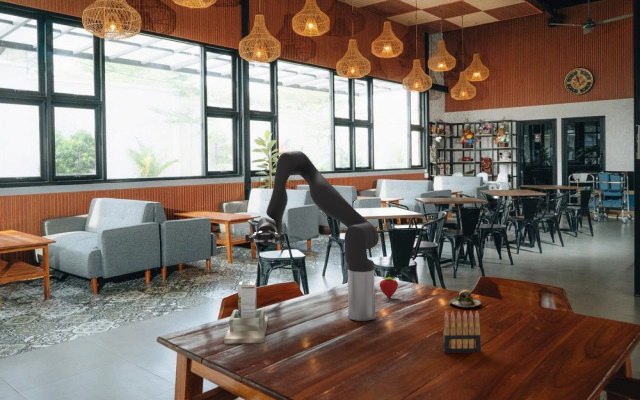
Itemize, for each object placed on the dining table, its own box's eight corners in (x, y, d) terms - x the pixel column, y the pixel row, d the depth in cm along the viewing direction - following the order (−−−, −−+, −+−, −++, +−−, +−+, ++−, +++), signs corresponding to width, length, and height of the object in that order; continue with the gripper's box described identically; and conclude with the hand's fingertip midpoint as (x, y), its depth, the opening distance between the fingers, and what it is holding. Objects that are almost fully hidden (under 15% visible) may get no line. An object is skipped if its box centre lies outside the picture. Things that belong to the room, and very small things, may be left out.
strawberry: (377, 296, 213) (377, 272, 213) (396, 295, 214) (395, 271, 213) (381, 300, 207) (381, 275, 207) (399, 299, 208) (399, 274, 208)
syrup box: (239, 323, 176) (238, 280, 175) (257, 322, 176) (256, 280, 175) (238, 328, 170) (237, 284, 169) (256, 328, 170) (255, 284, 169)
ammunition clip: (479, 350, 152) (479, 309, 151) (481, 352, 150) (481, 311, 150) (442, 350, 152) (442, 310, 151) (443, 352, 151) (443, 312, 150)
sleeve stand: (267, 320, 183) (267, 305, 183) (263, 342, 161) (263, 325, 161) (233, 321, 183) (233, 306, 182) (224, 343, 161) (223, 326, 160)
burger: (444, 307, 197) (444, 288, 197) (454, 300, 207) (454, 281, 206) (476, 312, 191) (476, 291, 190) (485, 304, 201) (485, 285, 200)
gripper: (248, 224, 201) (243, 229, 185) (285, 223, 201) (283, 228, 185) (248, 243, 201) (244, 250, 185) (285, 242, 202) (284, 249, 186)
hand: (264, 239), depth 185 cm, fingers open, 8 cm apart
